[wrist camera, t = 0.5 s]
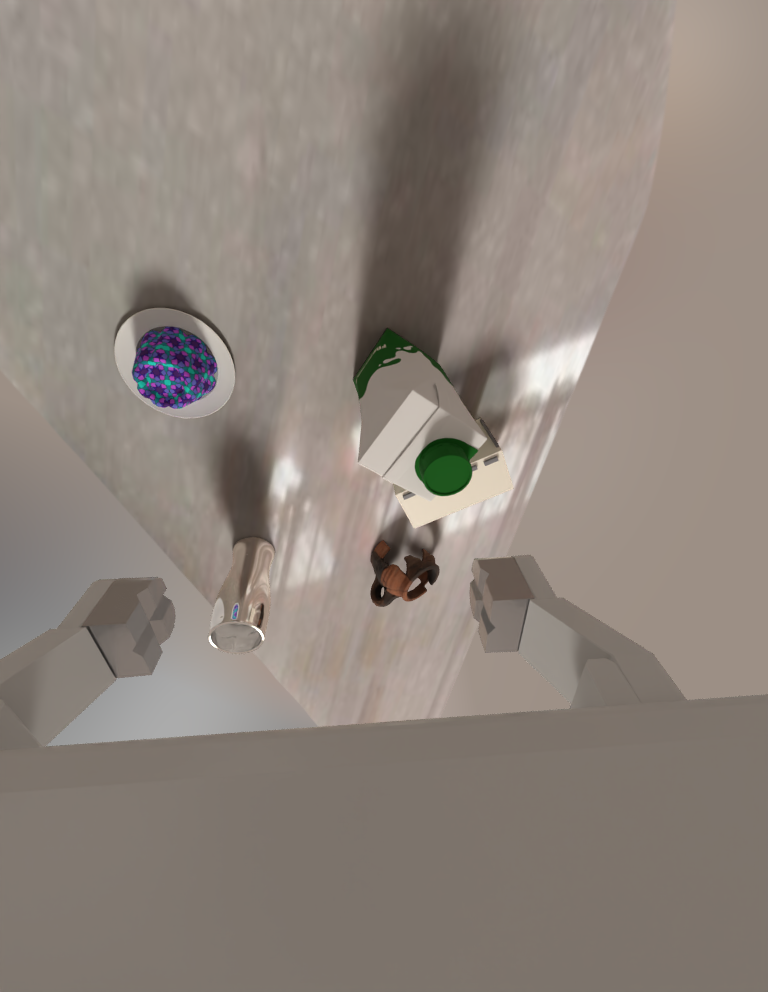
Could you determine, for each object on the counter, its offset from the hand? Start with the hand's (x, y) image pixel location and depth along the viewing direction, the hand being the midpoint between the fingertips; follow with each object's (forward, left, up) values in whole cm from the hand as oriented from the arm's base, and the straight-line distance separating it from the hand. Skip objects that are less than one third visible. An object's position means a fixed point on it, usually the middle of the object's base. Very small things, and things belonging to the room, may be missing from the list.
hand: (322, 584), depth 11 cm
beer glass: (+27, -27, -39) cm, 55 cm away
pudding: (0, -18, -39) cm, 43 cm away
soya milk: (+11, +3, -39) cm, 41 cm away
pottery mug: (+40, -9, -39) cm, 57 cm away
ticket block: (+24, +4, -39) cm, 46 cm away
